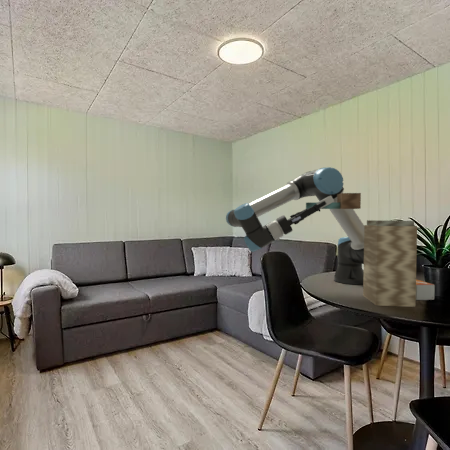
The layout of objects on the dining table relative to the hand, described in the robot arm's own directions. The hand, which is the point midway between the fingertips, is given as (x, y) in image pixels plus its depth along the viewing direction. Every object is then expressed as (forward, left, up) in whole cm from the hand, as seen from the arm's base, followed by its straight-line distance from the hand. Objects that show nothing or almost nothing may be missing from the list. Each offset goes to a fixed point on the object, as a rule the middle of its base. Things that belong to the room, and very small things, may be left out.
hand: (331, 198), depth 121 cm
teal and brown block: (0, 0, -4) cm, 4 cm away
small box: (-38, +9, -38) cm, 54 cm away
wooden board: (-18, +14, -41) cm, 46 cm away
